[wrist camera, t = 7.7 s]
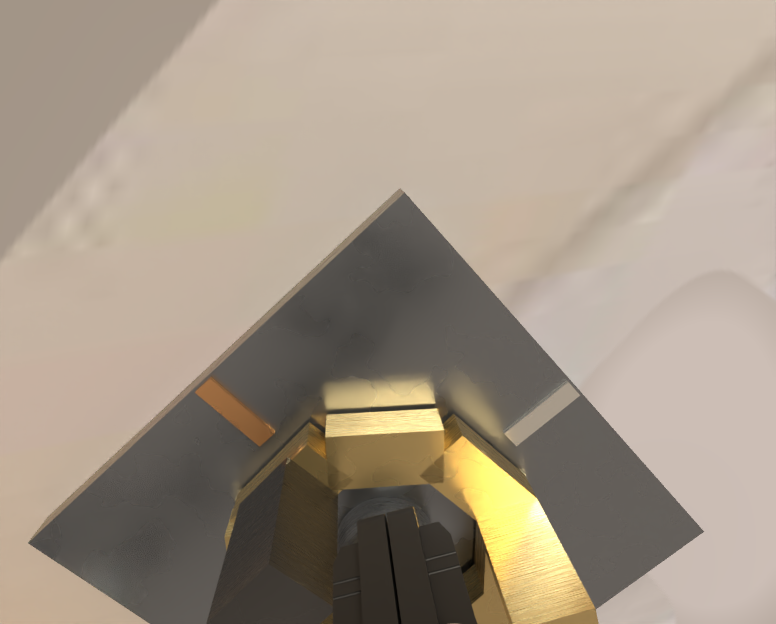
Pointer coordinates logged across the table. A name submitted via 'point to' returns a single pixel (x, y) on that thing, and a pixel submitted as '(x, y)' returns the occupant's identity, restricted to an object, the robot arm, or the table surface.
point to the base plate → (359, 395)
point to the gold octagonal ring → (383, 469)
